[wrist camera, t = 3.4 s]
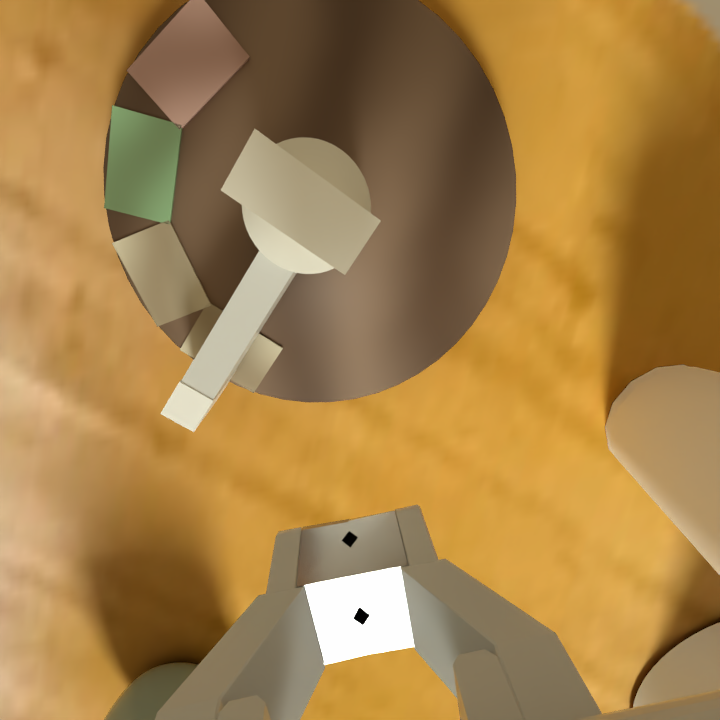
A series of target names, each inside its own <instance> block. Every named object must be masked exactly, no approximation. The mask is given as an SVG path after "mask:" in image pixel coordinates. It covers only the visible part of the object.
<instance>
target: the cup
mask: <svg viewBox="0 0 720 720" xmlns="http://www.w3.org/2000/svg"><path fill="white" fill-rule="evenodd" d="M197 666H198V664H194V663H186V662H175V663H168V664H163V665H159V666H156V667H154V668H152V669H150V670H148V671H146V672H144V673H142V674H141V675H140V676H139V677H138V678H136V679H135V680H134V681H133V682H132V683H131V684H129V686H128V687H127V688H126V689H125V690H124V691H123V692H122V694H121V695H120V696H119V698H118V699H117V701H116V702H115V703H114V705H113V706H112V708H111V709H110V711H109V712H108V714H107V715H106V717H105V718H104V720H155V718H156V715H157V712H158V711H159V710H160V709H161V708H162V706H163V705H164V704H165V703H166V702H167V701H168V699H169V698H170V697H171V696H172V695H173V694H174V692H175V691H176V690H177V689H178V688H179V687H180V686H181V684H182V683H183V682H184V681H185V680H186V679H187V677H188V676H189V675H190V674H191V673H192V672H193V671H194V669H195V668H196V667H197Z"/></svg>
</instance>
